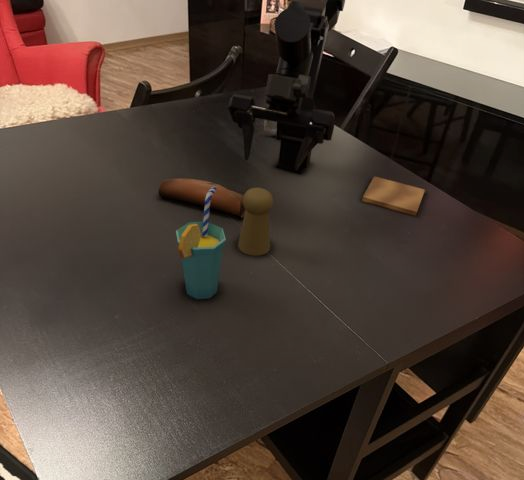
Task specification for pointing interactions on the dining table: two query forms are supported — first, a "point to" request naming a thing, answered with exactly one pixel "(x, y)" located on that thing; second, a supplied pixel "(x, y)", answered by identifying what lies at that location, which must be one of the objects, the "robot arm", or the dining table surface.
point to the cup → (201, 254)
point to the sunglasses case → (203, 194)
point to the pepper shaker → (256, 222)
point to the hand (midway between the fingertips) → (270, 164)
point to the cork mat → (394, 195)
